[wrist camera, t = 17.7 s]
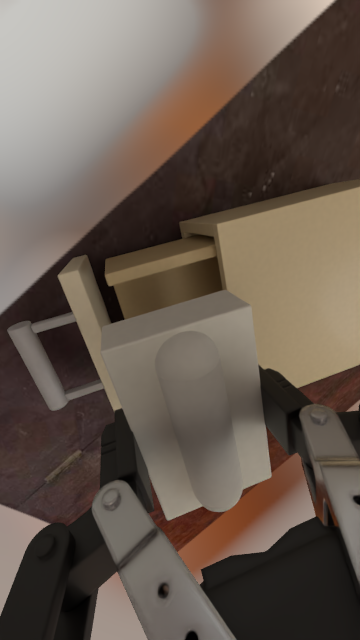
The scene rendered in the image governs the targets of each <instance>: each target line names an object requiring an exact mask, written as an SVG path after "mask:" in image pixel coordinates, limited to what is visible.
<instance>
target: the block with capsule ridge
mask: <svg viewBox="0 0 360 640" xmlns="http://www.w3.org/2000/svg"><path fill="white" fill-rule="evenodd" d="M100 354H101V356H102V359H103V361H104V364H105V366H106V369H107V371H108V374H109V376H110V379H111V381H112V384H113V386H114V389H115V391H116V394H117V396H118V399H119V401H120V404H121V406H122V409H123V411H124V414H125V416H126V419H127V421H128V424H129V426H130V429H131V431H133V433H134V436H135V439H136V441H137V444H138V446H139V449H140V451H141V454H142V456H143V459H144V461H145V464H146V466H147V469H148V474H149V477H150V479H151V482H152V484H153V487H154V489H155V492H156V494H157V497H158V499H159V502H160V504H161V507H162V509H163V512H164V514H165V517H166V519H167V520H171V519H173V518H175V517H178V516H180V515H183V514H185V513H187V512H190V511H192V510H194V509H197V508H199V507H202V506H204V507H205V508H207V509H208V510H211V511H215V512H224V511H227V510H229V509H231V508H232V507H233V506H234V505H235V504H236V503H237V502H238V501H239V499H240V497H241V494H242V490H243V489H245V488H247V487H249V486H252V485H254V484H256V483H259V482H261V481H264V480H266V479H268V478H271V468H270V459H269V451H268V442H267V434H266V426H265V421H264V413H263V404H262V396H261V388H260V385H261V384H260V375H259V367H258V359H257V350H256V342H255V333H254V325H253V317H252V308H251V305H250V304H248V303H247V302H245V301H243V300H242V299H240V298H238V297H237V296H235V295H234V294H232V293H230V292H229V291H227V290H222V291H219V292H215V293H212V294H209V295H205V296H202V297H199V298H195V299H192V300H189V301H185V302H182V303H179V304H175V305H172V306H169V307H165V308H162V309H159V310H155V311H152V312H149V313H145V314H142V315H139V316H135V317H132V318H129V319H125V320H122V321H119V322H115V323H112V324H109V325H105V326H103V327H102V336H101V352H100Z"/></svg>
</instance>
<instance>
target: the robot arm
mask: <svg viewBox="0 0 360 640" xmlns="http://www.w3.org/2000/svg"><path fill="white" fill-rule="evenodd" d="M258 367H259V375H260V384H261V385H260V388H261V396H262V404H263V413H264V421H265V425H266V426H267V427H268V429H269V430H270V431H271V433H272V434H273V435H274V437H275V438H276V439H277V440H278V442H279V443H280V444H281V446H282V447H283V448H284V450H285V451H286V452H287V454H288V455H292V454H294V453H298V454H299V455H300V457H301V459H302V466H303V470H304V474H305V477H306V481H307V485H308V488H309V492H310V495H311V499H312V503H313V506H314V510H315V514H316V517H314V518H312V519H310V520H308V521H306V522H303V523H301V524H299V525H297V526H295V527H293V528H291V529H289V530H288V532H286V533H285V534H284V535H283V536H282V537H281V538H280V539H279V540H278V541H277V542H276V543H275V544H274V545H273V546H272V547H271V548H270V549H268V550H267V551H265V552H260V553H251V554H242V555H234V556H229V557H228V558H225V559H223V560H221V561H219V562H216V563H214V564H212V565H210V566H208V567H205V568H203V569H201V571H202V576H203V579H204V581H203V582H202V583H201V584H200V585H199V584H198V582H197V581H196V580H195V578H194V576H193V575H192V574H191V572H190V571H189V569H188V568H187V566H186V565H185V563H184V562H183V560H182V559H181V557H180V556H179V554H178V553H177V551H176V550H175V549H174V547H173V546H172V544H171V543H170V541H169V540H168V538H167V537H166V535H165V534H164V532H163V531H162V530H161V529H160V528H159V527H157V526H156V525H155V523H154V522H153V520H152V519H151V517H150V516H149V514H148V513H150V512H153V511H154V506H153V500H152V493H151V487H150V481H149V475H148V469H147V466H146V464H145V461H144V459H143V456H142V454H141V451H140V449H139V446H138V444H137V441H136V439H135V436H134V433H133V431H131V429H130V426H129V424H128V421H127V419H126V416H125V414H124V411H123V409H122V408H120V409H117V410H115V422H114V423H112V424H109V425H106V427H105V429H104V431H103V433H102V436H101V446H102V447H101V472H100V490H99V491H98V493H97V494H96V496H95V497H94V500H93V503H92V507H91V508H90V509H89V510H88V511H87V512H86V513H85V514H84V515H82V516H81V517H80V518H78V519H77V520H76V521H74V522H73V523H72V524H70V525H69V526H68V527H67V526H66V525H65V524H63V523H53V524H50V525H48V526H46V527H45V528H43V529H42V530H41V531H40V532H39V533H38V534H37V535H36V536H35V537H34V538H33V539H32V541H31V542H30V544H29V545H28V547H27V549H26V551H25V554H24V556H23V559H22V562H21V564H20V567H19V570H18V572H17V574H16V577H15V580H14V582H13V585H12V588H11V590H10V593H9V595H8V598H7V600H6V603H5V606H4V608H3V611H2V613H1V616H0V640H90V638H91V631H92V625H93V619H94V613H95V607H96V600H97V594H98V588H99V587H100V586H101V585H102V584H103V583H104V582H106V581H107V580H108V579H109V578H110V577H111V576H112V575H113V574H115V573H116V572H118V574H119V576H120V579H121V581H122V583H123V586H124V587H125V590H126V592H127V594H128V597H129V599H130V601H131V603H132V605H133V608H134V610H135V612H136V614H137V616H138V619H139V621H140V623H141V625H142V628H143V630H144V632H145V634H146V636H147V639H148V640H360V405H359V411H351V412H335V411H334V410H332V409H331V408H329V407H327V406H324V405H319V404H314V403H313V402H311V401H310V400H309V399H308V398H307V397H306V396H305V395H304V394H303V393H302V392H300V391H299V390H298V389H297V388H296V387H295V386H294V385H292V383H290V382H289V381H288V380H286V378H285V377H284V376H283V375H282V374H280V373H279V372H278V371H275V370H273V369H270V368H267V369H263V368H262V367H261V366H260V365H259V364H258Z"/></svg>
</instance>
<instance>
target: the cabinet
mask: <svg viewBox="0 0 360 640" xmlns="http://www.w3.org/2000/svg"><path fill="white" fill-rule="evenodd" d="M179 225H180V230H181V235H182V239H183V238H187V237H191V236H195V235H199V234H201V235H207V236H213V237H214V239H215V245H216V251H217V258H218V264H219V270H220V276H221V282H222V288H223V290H227V291H229V292H230V293H232V294H234V295H235V296H237V297H238V298H240V299H242V300H243V301H245V302H247V303H248V304H250V305H251V308H252V317H253V325H254V333H255V342H256V350H257V359H258V364H259V365H260V366H261V367H262V368H263V369H267V368H270V369H273V370H275V371H278V372H279V373H280V374H282V375H283V376H284V377H285V378H286V380H288V381H289V382H290V383H292V385H294V386H295V387H296V388H299V387H301V386H304V385H307V384H309V383H312V382H315V381H317V380H320V379H322V378H325V377H328V376H330V375H333V374H336V373H338V372H341V371H344V370H346V369H349V368H352V367H354V366H357V365H360V179H358V180H351V181H345V182H339V183H332V184H327V185H323V186H319V187H316V188H312V189H308V190H304V191H300V192H296V193H292V194H288V195H284V196H280V197H276V198H272V199H268V200H264V201H261V202H257V203H253V204H249V205H245V206H241V207H237V208H233V209H229V210H225V211H221V212H217V213H213V214H209V215H205V216H202V217H198V218H194V219H190V220H186V221H182V222H179Z"/></svg>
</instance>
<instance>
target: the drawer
mask: <svg viewBox="0 0 360 640" xmlns="http://www.w3.org/2000/svg"><path fill="white" fill-rule="evenodd" d="M58 278H59V281H60V283H61V285H62V288H63V290H64V293H65V295H66V297H67V300H68V302H69V305H70V307H71V309H72V312H71V313H67V314H64V315H60V316H57V317H53V318H50V319H46V320H43V321H40V322H36V323H33V324H32V323H31V322H30V321H23V322H20V323H17V324H15V325H13V326H11V327H9V328H8V329H7V331H8V333H9V335H10V337H11V339H12V340H13V342H14V344H15V346H16V348H17V350H18V352H19V353H20V355H21V357H22V359H23V361H24V363H25V364H26V366H27V368H28V370H29V372H30V374H31V376H32V377H33V379H34V381H35V383H36V385H37V387H38V388H39V390H40V392H41V394H42V396H43V398H44V400H45V401H46V403H47V405H48V407H49V409H50V410H53V411H54V410H58V409H61V408H62V407H64V406H65V405H66V404H67V403H68V401H69V400H71V399H74V398H77V397H80V396H83V395H86V394H89V393H92V392H95V391H98V390H101V389H105V391H106V393H107V396H108V398H109V401H110V403H111V405H112V408H113V410H114V413H115V410H117V409H120V408H122V406H121V404H120V401H119V399H118V396H117V394H116V391H115V389H114V386H113V384H112V381H111V379H110V376H109V374H108V371H107V369H106V366H105V364H104V361H103V359H102V356H101V354H100V352H101V336H102V327H103V326H105V325H109V324H111V321H110V318H109V315H108V312H107V310H106V307H105V304H104V301H103V298H102V296H101V293H100V290H99V287H98V285H97V282H96V279H95V276H94V273H93V271H92V268H91V265H90V262H89V260H88V257H87V255H83V256H79V257H75V258H73V259H72V260H71V261H70V262H69V263H68V264H67V265H66V267H65V268H64V269H63V270H62V271H61V272H60V273H59V274H58ZM105 278H106V281H107V284H108V286H114V289H115V292H116V295H117V298H118V301H119V304H120V307H121V310H122V313H123V316H124V319H129V318H132V317H135V316H139V315H142V314H145V313H149V312H152V311H155V310H159V309H162V308H165V307H169V306H172V305H175V304H179V303H182V302H185V301H189V300H192V299H195V298H199V297H202V296H205V295H209V294H212V293H215V292H219V291H222V290H223V288H222V282H221V276H220V270H219V264H218V258H217V251H216V245H215V239H214V237H213V236H207V235H201V234H199V235H195V236H191V237H187V238H183V239H180V240H176V241H172V242H168V243H165V244H161V245H157V246H153V247H149V248H146V249H142V250H138V251H134V252H131V253H127V254H123V255H119V256H115V257H112V258H108V259H105ZM75 321H77V324H78V326H79V329H80V331H81V333H82V336H83V338H84V341H85V343H86V345H87V348H88V350H89V353H90V355H91V357H92V360H93V362H94V365H95V367H96V369H97V372H98V374H99V377H100V380H97V381H94V382H91V383H88V384H85V385H82V386H79V387H76V388H73V389H70V390H67V391H66V392H65V390H64V388H63V386H62V384H61V382H60V380H59V378H58V376H57V374H56V372H55V370H54V368H53V366H52V364H51V362H50V360H49V358H48V356H47V354H46V352H45V350H44V348H43V346H42V344H41V342H40V340H39V338H38V336H37V333H38V332H41V331H45V330H48V329H52V328H55V327H58V326H62V325H65V324H69V323H72V322H75Z"/></svg>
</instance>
